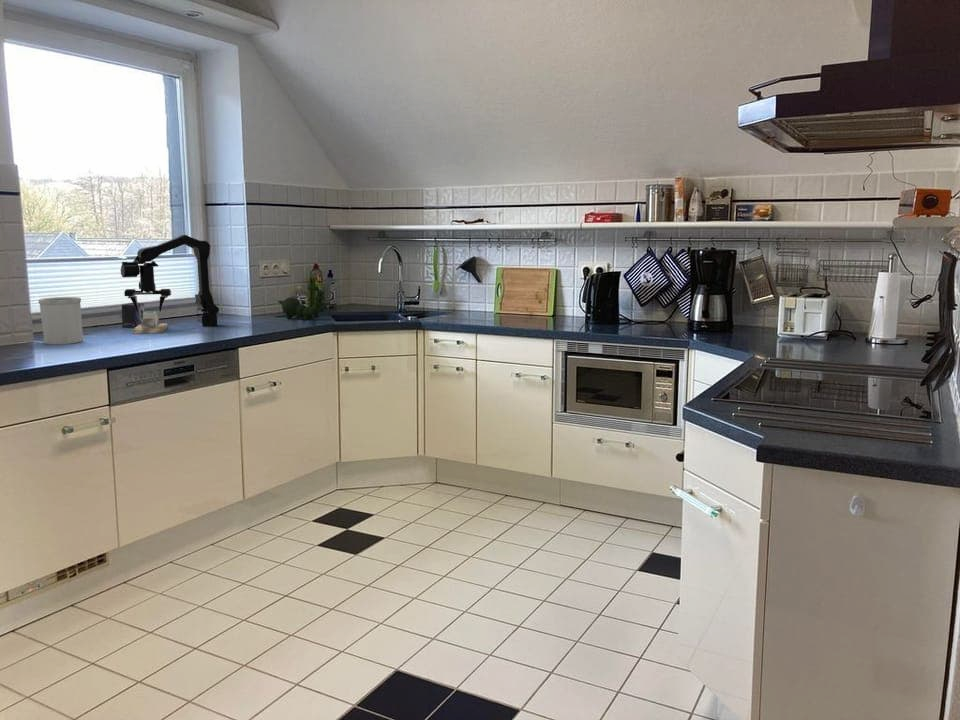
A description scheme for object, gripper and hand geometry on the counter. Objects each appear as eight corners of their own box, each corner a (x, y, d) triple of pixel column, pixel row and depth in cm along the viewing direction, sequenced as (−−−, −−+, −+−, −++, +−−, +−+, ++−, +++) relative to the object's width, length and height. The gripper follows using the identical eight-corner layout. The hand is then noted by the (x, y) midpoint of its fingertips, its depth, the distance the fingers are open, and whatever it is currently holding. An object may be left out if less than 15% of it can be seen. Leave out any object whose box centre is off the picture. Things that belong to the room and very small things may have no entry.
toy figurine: (325, 322, 394) (281, 316, 399) (328, 285, 390) (283, 279, 396) (317, 324, 385) (272, 318, 390) (319, 287, 381) (274, 281, 387)
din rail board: (167, 326, 357) (166, 314, 356) (162, 332, 336) (161, 320, 335) (139, 327, 354) (138, 315, 353) (132, 333, 333) (131, 320, 332)
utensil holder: (55, 345, 297) (51, 300, 295) (34, 342, 305) (30, 298, 302) (91, 341, 310) (88, 298, 307) (70, 338, 318) (67, 296, 315)
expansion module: (157, 324, 348) (156, 311, 347) (155, 326, 342) (154, 312, 341) (145, 324, 347) (144, 311, 346) (143, 326, 341) (142, 312, 340)
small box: (135, 327, 353) (134, 304, 351) (121, 327, 353) (120, 304, 352) (146, 324, 364) (144, 302, 362) (132, 324, 364) (131, 302, 362)
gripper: (171, 275, 351) (173, 309, 354) (126, 275, 346) (129, 310, 348) (168, 277, 341) (170, 312, 343) (123, 277, 335) (125, 312, 338)
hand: (149, 311), depth 344 cm, fingers open, 9 cm apart
